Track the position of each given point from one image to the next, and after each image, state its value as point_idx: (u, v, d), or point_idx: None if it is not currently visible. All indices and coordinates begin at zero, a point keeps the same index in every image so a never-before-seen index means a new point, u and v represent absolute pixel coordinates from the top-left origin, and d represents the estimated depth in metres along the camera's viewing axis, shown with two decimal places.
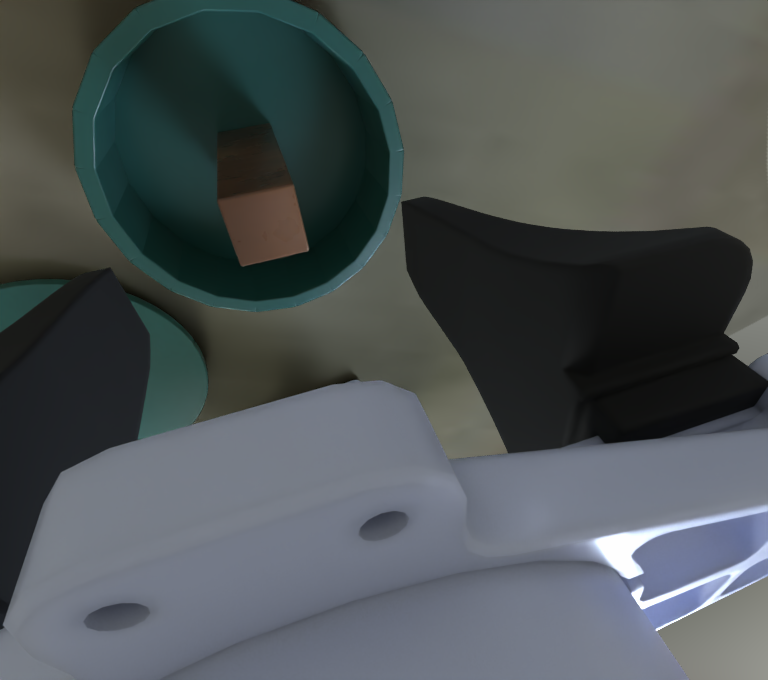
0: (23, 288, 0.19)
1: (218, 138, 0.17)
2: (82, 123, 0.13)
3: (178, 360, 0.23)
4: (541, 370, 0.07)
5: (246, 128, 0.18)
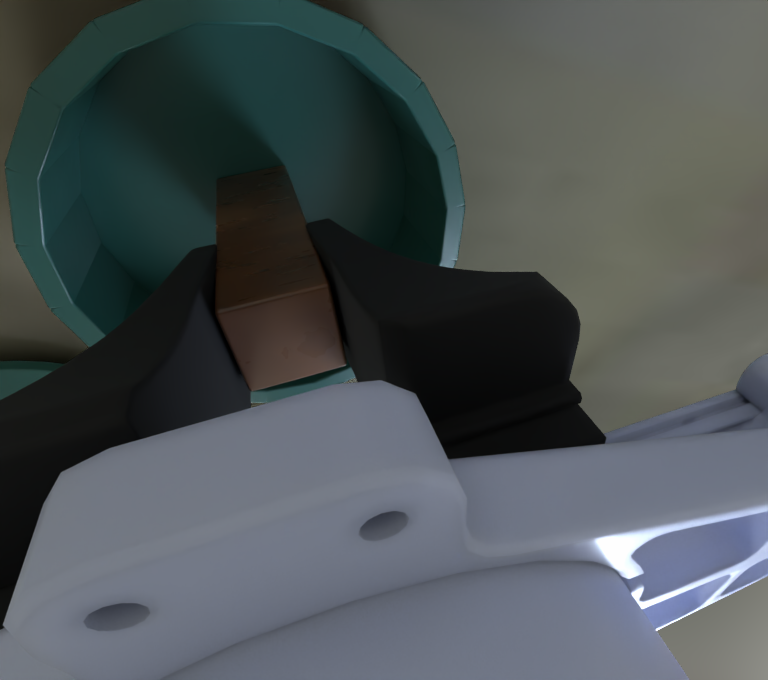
0: None
1: (217, 188, 0.13)
2: (21, 186, 0.09)
3: None
4: None
5: (254, 173, 0.14)
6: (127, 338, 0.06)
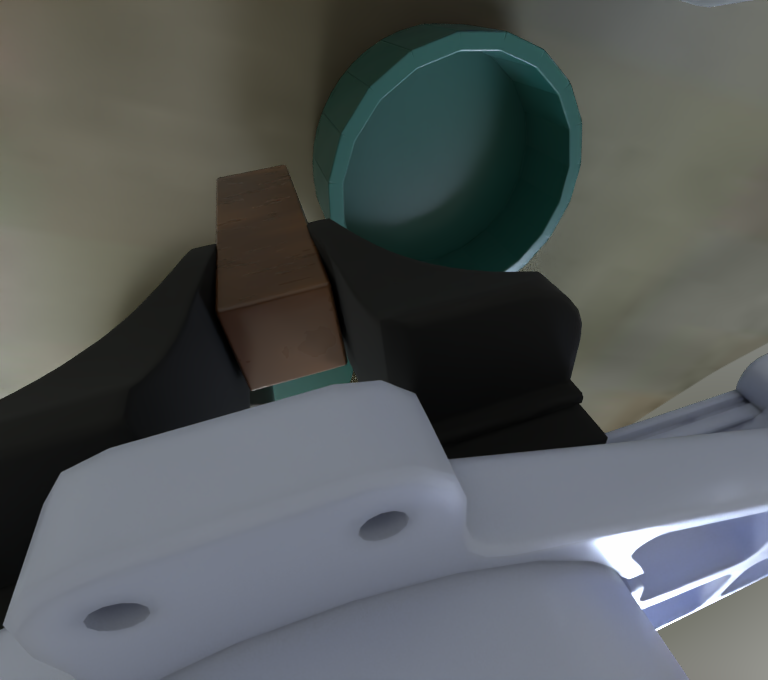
0: None
1: (218, 188, 0.13)
2: (345, 145, 0.16)
3: None
4: None
5: (255, 172, 0.14)
6: (125, 339, 0.06)
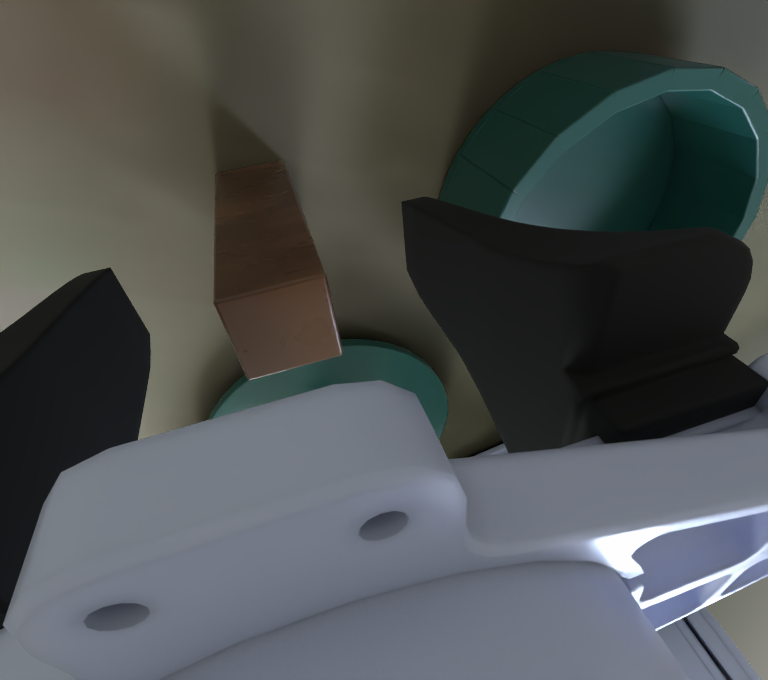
0: None
1: (216, 183, 0.13)
2: (513, 204, 0.13)
3: (427, 411, 0.22)
4: (541, 370, 0.07)
5: (253, 168, 0.14)
6: None
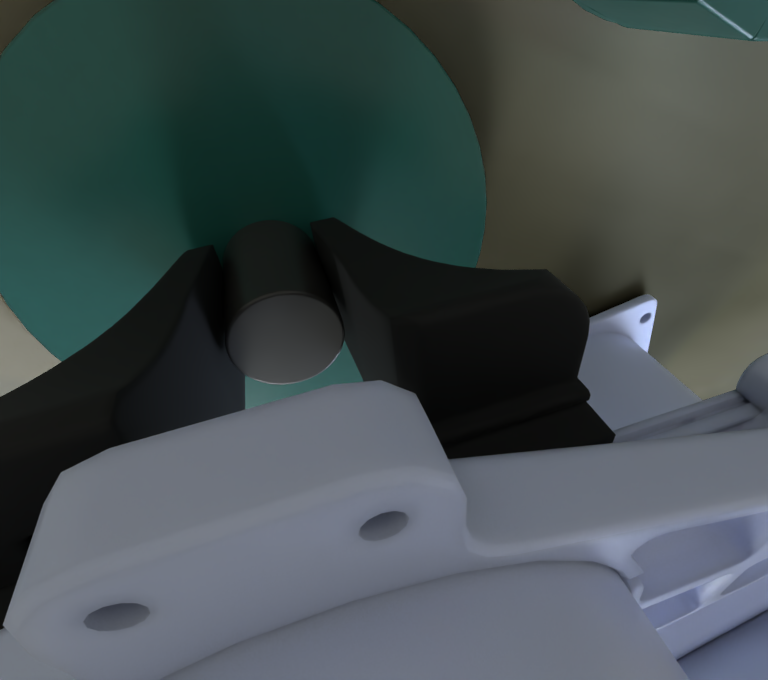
0: None
1: None
2: None
3: (449, 217, 0.12)
4: None
5: None
6: (117, 340, 0.06)
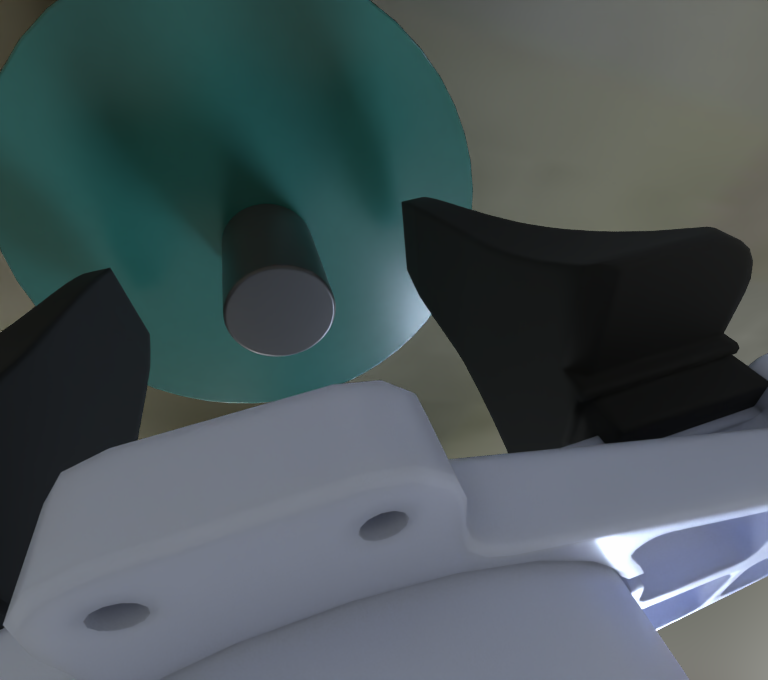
0: None
1: None
2: None
3: None
4: (541, 370, 0.07)
5: None
6: None
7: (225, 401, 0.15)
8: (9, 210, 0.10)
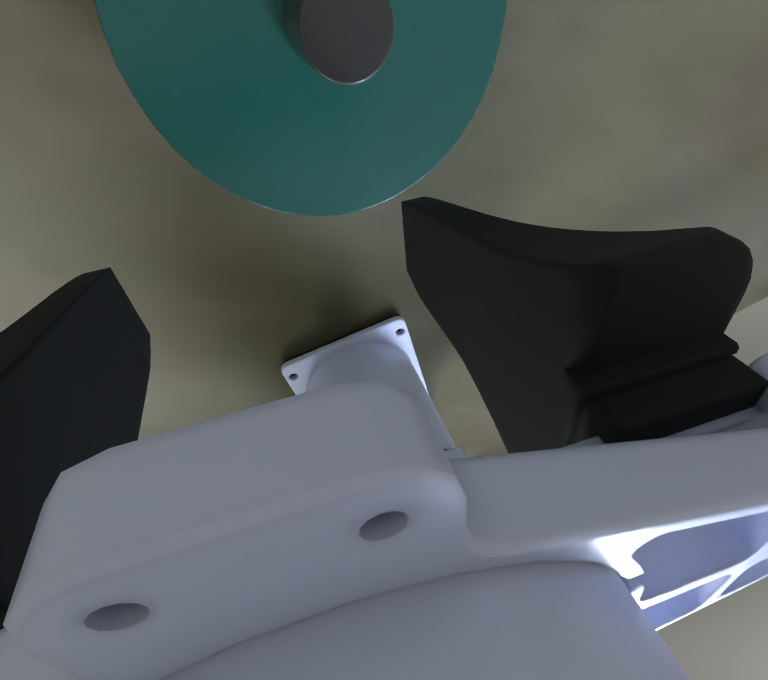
0: None
1: None
2: None
3: None
4: (541, 370, 0.07)
5: None
6: None
7: (273, 208, 0.16)
8: None
